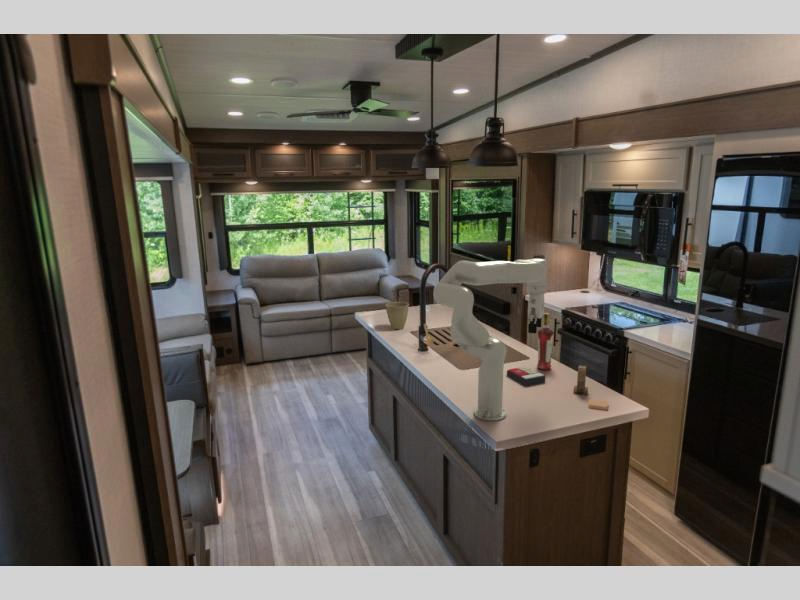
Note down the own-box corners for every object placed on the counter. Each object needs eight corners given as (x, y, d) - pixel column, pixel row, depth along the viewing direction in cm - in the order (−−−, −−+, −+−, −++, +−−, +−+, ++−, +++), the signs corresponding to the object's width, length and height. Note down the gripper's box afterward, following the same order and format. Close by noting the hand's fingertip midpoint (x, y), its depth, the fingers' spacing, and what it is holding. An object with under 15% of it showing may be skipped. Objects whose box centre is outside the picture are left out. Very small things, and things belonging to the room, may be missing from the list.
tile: (607, 405, 206) (607, 411, 201) (589, 403, 209) (588, 408, 204) (607, 401, 206) (607, 407, 201) (589, 399, 209) (588, 404, 204)
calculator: (525, 365, 243) (545, 374, 230) (525, 374, 244) (545, 383, 231) (506, 369, 239) (525, 378, 226) (506, 377, 240) (525, 387, 226)
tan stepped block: (587, 395, 216) (588, 368, 213) (573, 393, 218) (574, 367, 216) (587, 392, 218) (589, 366, 216) (574, 390, 221) (576, 364, 218)
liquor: (539, 364, 253) (541, 310, 247) (553, 367, 249) (556, 312, 243) (534, 369, 247) (536, 314, 241) (548, 372, 243) (551, 316, 237)
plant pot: (408, 324, 331) (408, 301, 327) (409, 331, 316) (409, 306, 313) (386, 325, 330) (385, 301, 327) (386, 331, 316) (385, 307, 312)
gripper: (541, 294, 194) (539, 336, 198) (549, 285, 209) (547, 325, 213) (522, 292, 198) (520, 334, 201) (531, 284, 213) (530, 323, 216)
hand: (534, 329), depth 207 cm, fingers open, 9 cm apart
